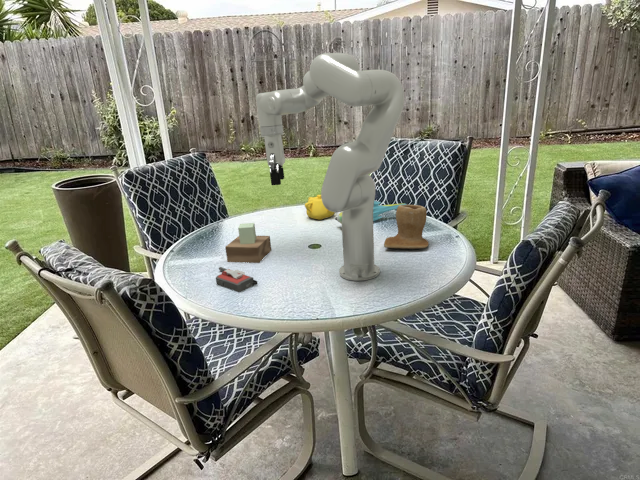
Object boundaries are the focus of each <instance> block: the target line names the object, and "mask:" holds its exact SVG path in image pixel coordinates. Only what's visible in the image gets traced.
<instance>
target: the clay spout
mask: <svg viewBox="0 0 640 480" xmlns="http://www.w3.org/2000/svg"><path fill="white" fill-rule="evenodd" d="M427 213H428V211H427V208H426V207H424V206H423V205H419V204H417V205H416V204H406V205H399V206H398V208H397V209H396V211H395V220H396V225H397V234H396V235H395V236H388V237H387V238H386V239H384V243H383V248H385V249H388V248H389V249H408V250H409V249H425V248H428V247H429V245H430V244H429V241H428V240H427V239H426V238H423V231H424V229H425V225H426V222H427Z"/></svg>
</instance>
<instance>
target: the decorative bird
mask: <svg viewBox="0 0 640 480" xmlns="http://www.w3.org/2000/svg"><path fill="white" fill-rule="evenodd" d="M381 203H382V202H381V201H378V200H374V206H373V222H375V221H378V220H380V219H382V218H383V216H381V215H382V214H384V213H386V212H390V211H395V210H397V208H398V206H399V205H407V203H405V202H404V203H393V204H383V205H382V204H381ZM342 212H343V211H342ZM342 212H339V213H338V215H337V216H336V217H335V218H334V219H335V221H337V223H340V224H341V225H342V221H341V220H342Z"/></svg>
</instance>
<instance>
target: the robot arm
mask: <svg viewBox="0 0 640 480" xmlns="http://www.w3.org/2000/svg"><path fill="white" fill-rule="evenodd" d="M302 84H303V85H301V86H299V87H298V88H289V89H288V88H286V89H277V90H272V91H267V92H259V93H257V94H256V97H255V100H256V101H255V102H256V109H257V114H258V115H257V116H258V123H259V130H260V137H261V138H264V145H265V155H266V162H267V166H268V167H269V178H270V183H271V184H270V185H271V186H280V185H282V181H281V180H285V171H284V164H285V162H286V157H285V151H284V144H283V138H282V136H284V134H285V133H284V126H283V118H282V116H286V115H292V114H300V113H303V112H306V111H309V110H310V109H312V108H315V107H316V106H318V105H319V104H320V103H321V102H322V101H323V99H325V98H326V97H329V96H331V97H333V98H334V99H336V100H338V101H339V102H341V103H343V104H345V105H346V106H347V105H348V106H349V107H353V108H354V107H365V106H371V105H372V108H371V110H370V111H369V112H368V114H367V115H366V117H365V119H364V120H363V122H362V125H361V127H360V128H361V129H360V131H359V134H358V136H357V138H356V139H355V140H354V141H352V142H347V143H344V144H342V145H340V146H339V147H337V148H336V149H335V151H334V152H333V153H332V155H331V158H330V159H329V160H330V161H329V162H328V163H329V164H328V166H327V169H326V173H325V176H324V179H323V182H322V186H321V192H320V195H321V198H322V202H323V205H324V206H325V208H326V209H328V210H329V211H331V212H335V213H341V212H342V220H341V221H342V224H341V237H342V238H341V240H342V241H341V242H342V256H343V265H342V266H341V267H339V270H338V271H339V273H338V274H339V275H340V277H341V278H343V279H345V280H348V281H354V282H355V281H356V282H358V281H359V282H362V281H368V280H372V279H374V278H376V277H377V276H379V274H380V272H381V271H380V270H381V269H380V267H379V265H377V264H376V263H375V242H374V236H375V235H374V234H375V233H374V221H373V206H374V201H375V198H376V184H375V181H374V179H373V178H372V176H371V175H370V174H372V173H374V172H376V171H378V170H379V169H380V167H381V166H382V163H383V161H384V158H385V156H386V153H387V150H388V148H389V145H390V143H391V141H392V137H393V134H394V132H395V129H396V127H397V124H398V122H399V121H400V117H401V115H402V112H403V109H404V104H405V91H404V90H405V89H404V86H403V85H402V84H403V83H401V80H400V79H399V78H398V76H397V75H395V73H393V72H392V71H390V70H389V71H388V70H385V69H367V70H360V64H359V62H358V60H357V59H356V58H355V57H354V55H351V54H350V53H346V52H334V53H333V52H332V53H331V52H326V53H321V54H319V55H317V56H316V57H314V58H313V60H312V61H311V63H310V65H309V70H308V71H306V73H305V74H304V76H303V79H302Z"/></svg>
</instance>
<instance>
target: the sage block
mask: <svg viewBox="0 0 640 480" xmlns="http://www.w3.org/2000/svg"><path fill="white" fill-rule="evenodd" d="M237 228H238V229H237V230H238V236H239V238H240V244H253V243H255V241H256V236H257V234H256V225H255V222H248V223H239V226H238V227H237Z"/></svg>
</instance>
